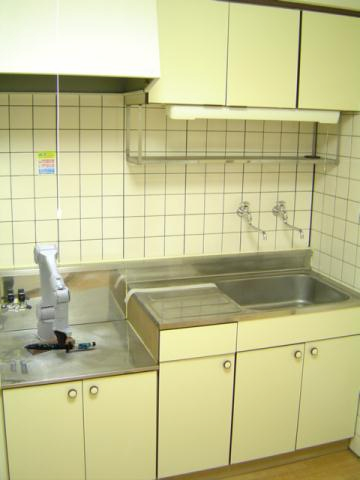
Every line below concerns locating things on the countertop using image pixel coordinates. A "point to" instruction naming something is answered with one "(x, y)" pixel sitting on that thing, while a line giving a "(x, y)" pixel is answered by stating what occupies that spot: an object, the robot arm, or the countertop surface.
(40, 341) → the walnut board
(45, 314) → the robot arm
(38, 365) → the countertop surface
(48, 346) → the knife
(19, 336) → the countertop surface
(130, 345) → the countertop surface
